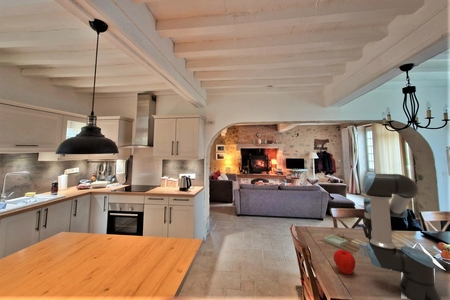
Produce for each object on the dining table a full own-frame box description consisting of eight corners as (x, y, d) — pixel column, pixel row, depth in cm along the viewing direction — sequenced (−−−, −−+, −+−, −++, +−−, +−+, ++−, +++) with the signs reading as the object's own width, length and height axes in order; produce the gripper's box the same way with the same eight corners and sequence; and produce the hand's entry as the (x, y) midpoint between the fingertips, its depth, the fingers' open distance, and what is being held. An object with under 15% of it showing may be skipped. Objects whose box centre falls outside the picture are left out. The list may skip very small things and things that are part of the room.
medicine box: (369, 254, 134) (368, 242, 135) (374, 257, 130) (373, 245, 130) (359, 254, 134) (358, 243, 134) (364, 258, 130) (363, 246, 130)
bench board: (352, 255, 133) (351, 247, 133) (320, 241, 156) (319, 234, 156) (370, 246, 146) (370, 238, 146) (338, 234, 169) (338, 228, 169)
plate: (361, 248, 141) (361, 245, 141) (350, 244, 148) (350, 241, 148) (366, 245, 145) (366, 242, 145) (355, 241, 152) (355, 239, 152)
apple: (330, 269, 117) (329, 248, 118) (342, 265, 122) (341, 245, 122) (347, 280, 106) (346, 258, 107) (360, 275, 110) (359, 253, 111)
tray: (339, 247, 143) (339, 243, 143) (324, 241, 154) (323, 237, 155) (347, 243, 148) (347, 240, 149) (332, 237, 160) (332, 234, 160)
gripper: (383, 219, 135) (385, 250, 134) (363, 214, 147) (365, 243, 145) (378, 221, 132) (380, 253, 130) (358, 216, 143) (360, 245, 142)
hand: (372, 248), depth 138 cm, fingers closed
